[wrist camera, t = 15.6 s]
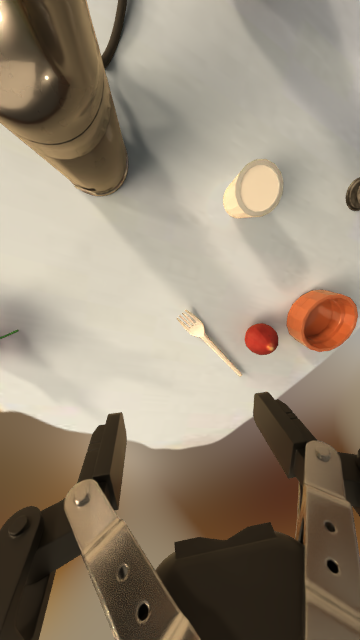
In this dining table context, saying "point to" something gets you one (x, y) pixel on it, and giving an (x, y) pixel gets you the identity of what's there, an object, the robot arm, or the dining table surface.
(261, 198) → the cream cylinder
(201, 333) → the fork
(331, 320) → the bowl
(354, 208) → the pawn-shaped pepper mill
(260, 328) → the onion
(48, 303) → the dining table surface
